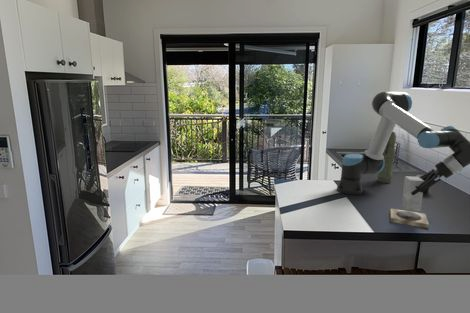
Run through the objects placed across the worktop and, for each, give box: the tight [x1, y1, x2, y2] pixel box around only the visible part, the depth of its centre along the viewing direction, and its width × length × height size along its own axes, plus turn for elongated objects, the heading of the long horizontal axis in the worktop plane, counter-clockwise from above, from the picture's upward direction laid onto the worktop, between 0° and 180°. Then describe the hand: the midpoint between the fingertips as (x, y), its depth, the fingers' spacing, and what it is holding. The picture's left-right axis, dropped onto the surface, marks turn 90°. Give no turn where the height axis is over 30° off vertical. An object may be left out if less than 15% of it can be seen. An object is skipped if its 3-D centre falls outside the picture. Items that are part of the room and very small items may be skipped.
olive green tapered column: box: [377, 131, 397, 184], centre depth 218 cm, size 9×12×35 cm
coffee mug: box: [415, 174, 430, 195], centre depth 200 cm, size 12×9×10 cm
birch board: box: [389, 208, 430, 229], centre depth 157 cm, size 16×14×2 cm
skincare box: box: [401, 175, 424, 213], centre depth 154 cm, size 8×7×16 cm
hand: (404, 194), depth 155 cm, fingers closed on skincare box, 9 cm apart
